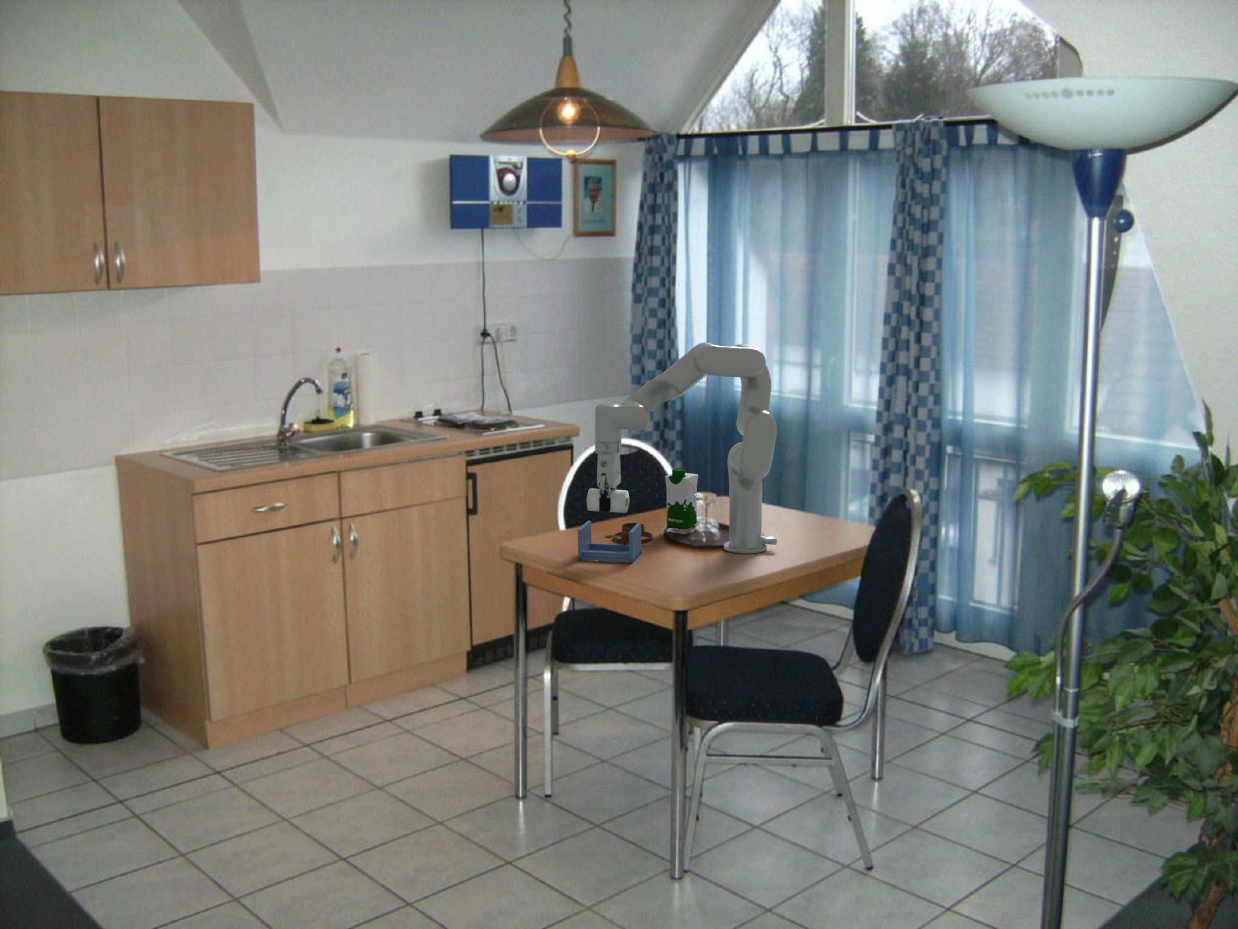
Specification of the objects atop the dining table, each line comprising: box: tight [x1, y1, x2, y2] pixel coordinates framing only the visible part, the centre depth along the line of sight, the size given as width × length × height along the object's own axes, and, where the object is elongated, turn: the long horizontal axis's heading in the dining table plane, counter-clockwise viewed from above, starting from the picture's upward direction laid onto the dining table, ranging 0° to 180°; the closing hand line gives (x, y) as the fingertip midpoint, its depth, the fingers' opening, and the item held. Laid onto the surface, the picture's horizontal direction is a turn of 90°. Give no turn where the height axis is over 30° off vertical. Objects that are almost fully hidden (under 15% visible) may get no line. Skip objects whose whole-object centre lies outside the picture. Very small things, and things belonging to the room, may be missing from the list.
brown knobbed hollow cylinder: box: [605, 522, 654, 548], centre depth 383 cm, size 18×20×6 cm
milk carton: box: [664, 468, 699, 530], centre depth 393 cm, size 9×9×20 cm
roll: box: [586, 487, 630, 514], centre depth 363 cm, size 12×6×6 cm, turn 77°
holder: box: [577, 520, 642, 564], centre depth 366 cm, size 16×11×9 cm
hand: (607, 508), depth 364 cm, fingers closed on roll, 6 cm apart
